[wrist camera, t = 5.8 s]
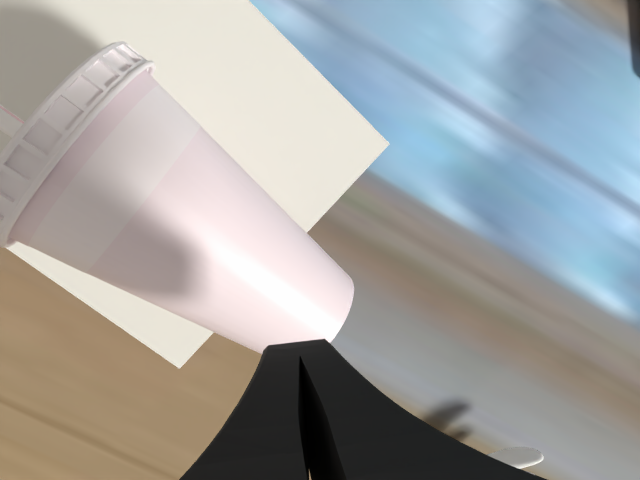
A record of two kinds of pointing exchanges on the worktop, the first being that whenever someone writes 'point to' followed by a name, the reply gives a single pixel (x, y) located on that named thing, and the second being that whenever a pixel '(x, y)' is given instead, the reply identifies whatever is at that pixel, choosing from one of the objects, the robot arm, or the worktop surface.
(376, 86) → the worktop surface
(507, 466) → the robot arm
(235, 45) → the mat
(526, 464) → the white plastic utensil
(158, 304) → the smoothie
